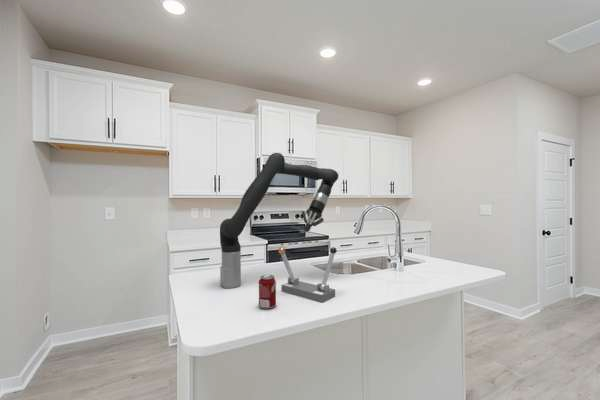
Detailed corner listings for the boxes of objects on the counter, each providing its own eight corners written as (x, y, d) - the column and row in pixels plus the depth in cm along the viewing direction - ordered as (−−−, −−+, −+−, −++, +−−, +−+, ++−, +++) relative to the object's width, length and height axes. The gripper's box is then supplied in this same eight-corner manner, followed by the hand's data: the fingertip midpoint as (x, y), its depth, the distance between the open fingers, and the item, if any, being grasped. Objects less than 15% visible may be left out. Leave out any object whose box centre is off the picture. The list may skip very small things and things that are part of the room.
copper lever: (293, 279, 135) (280, 245, 128) (298, 280, 133) (285, 246, 126) (289, 284, 133) (276, 249, 126) (294, 285, 131) (281, 250, 124)
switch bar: (295, 286, 138) (295, 274, 138) (335, 296, 124) (335, 283, 124) (281, 291, 131) (281, 279, 130) (322, 302, 116) (322, 288, 116)
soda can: (268, 311, 108) (268, 279, 108) (255, 307, 111) (255, 277, 111) (279, 305, 113) (279, 275, 113) (266, 302, 117) (265, 273, 117)
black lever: (321, 290, 123) (333, 248, 131) (326, 291, 121) (338, 249, 129) (317, 288, 121) (329, 245, 129) (323, 289, 119) (335, 246, 127)
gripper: (330, 209, 153) (318, 237, 147) (308, 201, 157) (295, 228, 151) (330, 203, 146) (317, 233, 141) (307, 195, 150) (293, 224, 144)
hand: (306, 231), depth 146 cm, fingers closed
